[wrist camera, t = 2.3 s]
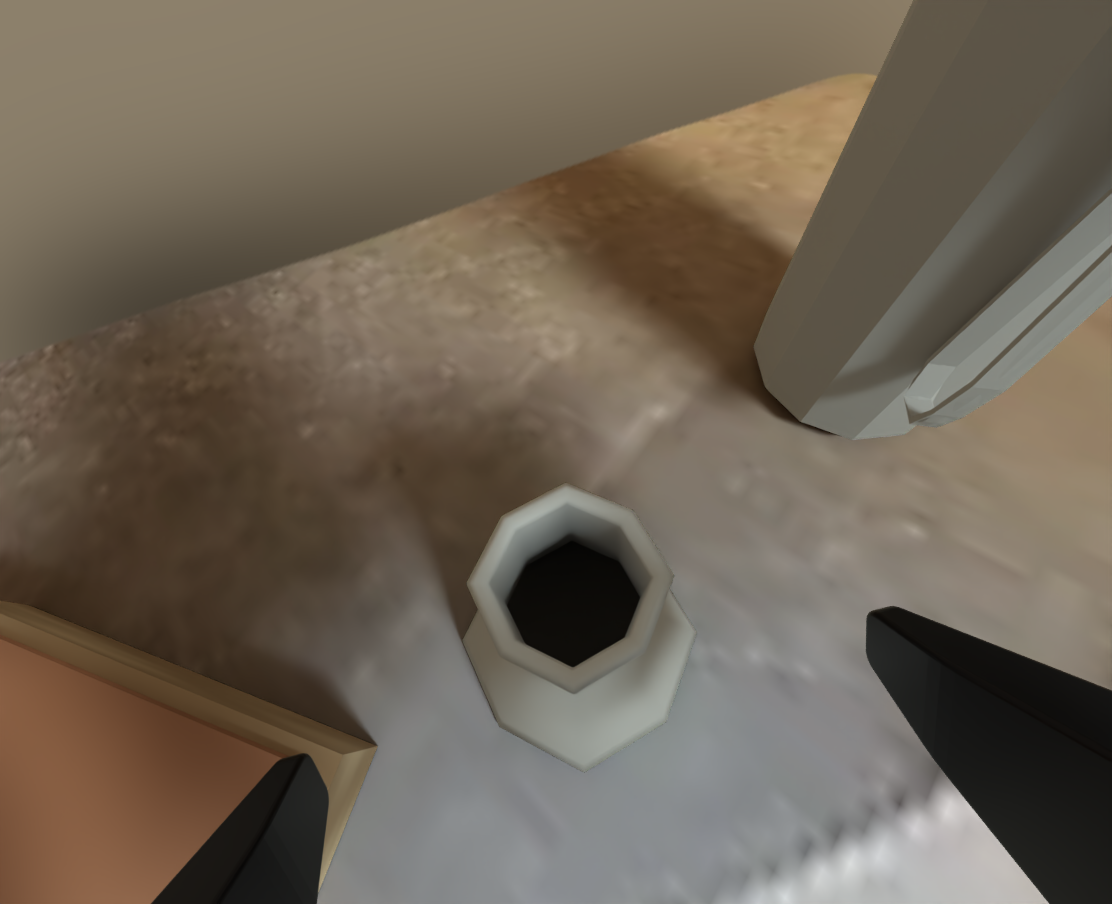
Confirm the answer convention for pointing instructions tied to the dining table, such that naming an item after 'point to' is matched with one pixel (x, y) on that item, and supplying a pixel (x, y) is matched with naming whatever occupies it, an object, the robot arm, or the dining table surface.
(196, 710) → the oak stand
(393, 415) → the dining table surface
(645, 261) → the dining table surface
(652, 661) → the flask
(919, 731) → the robot arm
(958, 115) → the water bottle
